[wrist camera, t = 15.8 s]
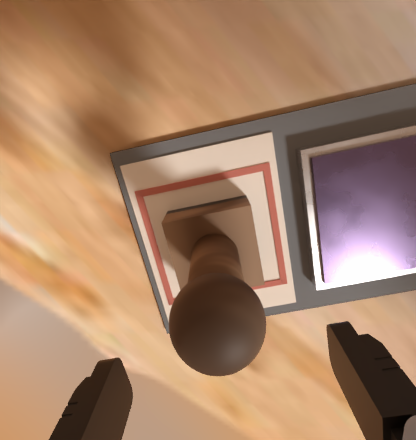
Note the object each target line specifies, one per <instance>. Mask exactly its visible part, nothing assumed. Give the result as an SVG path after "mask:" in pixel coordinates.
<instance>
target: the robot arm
mask: <svg viewBox="0 0 416 440" xmlns="http://www.w3.org/2000/svg"><path fill="white" fill-rule="evenodd" d="M327 337H328V347H329V356H330V362H331V365H332V369H333V371H334V374H335V376H336V378H337V381H338V383H339V385H340V387H341V389H342V391H343V393H344V395H345V397H346V399H347V401H348V403H349V405H350V408H351V410H352V412H353V414H354V416H355V418H356V420H357V422H358V424H359V426H360V428H361V430H362V432H363V435H364V437H365V439H366V440H416V387H415V386H414V384H413V383H412V382H411V380H410V379H409V378H408V377H407V375H406V374H405V373H404V371H403V370H402V369H400V366H399V365H398V363H397V362H396V361H395V360H394V359H393V358H392V356H391V354H390V353H389V352H388V350H387V349H386V348H385V346H384V345H383V344H382V343H381V342H379V341H378V340H376V339H375V338H373V337H372V336H371V335H369V334H364V335H358V334H357V333H356V331H355V330H354V328H353V327H352V325H351V324H350V323H349V322H348V321H346V322H340V323H334V324H328V325H327ZM132 399H133V392H132V387H131V384H130V381H129V379H128V376H127V373H126V371H125V368H124V366H123V363H122V361H121V359H120V358H113V359H107V360H101V361H99V362H98V363H97V365H96V366H95V369H94V371H93V373H92V375H91V377H86V378H85V379H84V380H83V381H82V382H81V384H80V385H79V386H78V387H77V388H76V390H75V391H74V393H73V394H72V397H71V398H70V400H69V402H68V406H66V408H65V410H64V412H63V414H62V418H60V419H59V421H58V423H57V425H56V427H55V429H54V431H53V433H52V435H51V437H50V439H49V440H121V439H122V436H123V433H124V429H125V426H126V422H127V418H128V415H129V412H130V409H131V405H132Z"/></svg>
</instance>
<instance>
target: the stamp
mask: <svg viewBox="0 0 416 440" xmlns="http://www.w3.org/2000/svg"><path fill="white" fill-rule="evenodd" d="M161 224H162V227H163V231H164V234H165V238H166V241H167V245H168V248H169V252H170V256H171V259H172V263H173V266H174V270H175V273H176V277H177V280H178V284H179V287H180V292H179V293H178V295H177V296H176V298H175V300H174V302H173V304H172V307H171V310H170V315H169V333H170V338H171V341H172V344H173V346H174V348H175V350H176V352H177V353H178V355H179V356H180V358H181V359H182V360H183V361H184V362H185V363H186V364H187V365H188V366H190V367H191V368H193V369H194V370H196V371H198V372H200V373H203V374H206V375H210V376H226V375H230V374H233V373H236V372H238V371H240V370H242V369H243V368H245V367H246V366H247V365H249V364H250V363H251V362H252V361H253V359H254V358H255V357H256V356H257V354H258V353H259V351H260V349H261V347H262V344H263V342H264V338H265V333H266V317H265V312H264V308H263V306H262V303H261V301H260V299H259V297H258V296H257V294H256V293H255V291H254V290H253V289H252V288H251V287H255V286H261V285H265V283H264V277H263V271H262V266H261V260H260V254H259V248H258V243H257V237H256V231H255V226H254V220H253V214H252V208H251V204H250V202H249V200H248V198H247V196H246V195H243V196H239V197H234V198H229V199H224V200H219V201H214V202H209V203H205V204H200V205H195V206H190V207H185V208H180V209H176V210H171V211H167V213H166V215H165V217H164V219H163V221H162V223H161Z"/></svg>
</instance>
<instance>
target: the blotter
mask: <svg viewBox="0 0 416 440" xmlns="http://www.w3.org/2000/svg"><path fill="white" fill-rule="evenodd" d="M412 123H416V84H412V85H407V86H403V87H399V88H394V89H390V90H385V91H381V92H377V93H372V94H368V95H364V96H359V97H355V98H350V99H346V100H342V101H337V102H333V103H328V104H324V105H320V106H315V107H311V108H307V109H302V110H298V111H293V112H289V113H285V114H280V115H276V116H271V117H267V118H263V119H258V120H254V121H250V122H245V123H241V124H236V125H232V126H228V127H223V128H219V129H214V130H210V131H206V132H201V133H197V134H193V135H188V136H184V137H179V138H175V139H171V140H166V141H162V142H157V143H153V144H149V145H144V146H140V147H136V148H131V149H127V150H122V151H118V152H114V153H110V156H111V159H112V162H113V165H114V168H115V172H116V175H117V178H118V181H119V184H120V187H121V190H122V193H123V197H124V200H125V203H126V206H127V209H128V212H129V215H130V219H131V222H132V225H133V228H134V231H135V234H136V237H137V240H138V244H139V247H140V250H141V253H142V256H143V259H144V262H145V266H146V269H147V272H148V275H149V278H150V281H151V284H152V287H153V291H154V294H155V297H156V300H157V303H158V306H159V309H160V312H161V316H162V319H163V322H164V325H165V328H166V331H167V334H168V333H169V315H170V310H171V307H172V304H173V302H174V300H175V298H176V296H177V295H178V293H179V292H180V287H179V284H178V280H177V277H176V273H175V270H174V266H173V263H172V259H171V256H170V252H169V248H168V245H167V241H166V238H165V234H164V231H163V227H162V224H161V223H162V221H163V219H164V217H165V215H166V213H167V211H171V210H176V209H180V208H185V207H190V206H195V205H200V204H205V203H209V202H214V201H219V200H224V199H229V198H234V197H239V196H243V195H246V196H247V198H248V200H249V202H250V204H251V208H252V214H253V220H254V226H255V231H256V237H257V243H258V248H259V254H260V260H261V266H262V271H263V277H264V283H265V285H261V286H255V287H251V288H252V289H253V290H254V291H255V293H256V294H257V296H258V297H259V299H260V301H261V303H262V306H263V308H264V312H265V316H270V315H276V314H281V313H287V312H293V311H298V310H304V309H310V308H316V307H321V306H327V305H333V304H338V303H344V302H350V301H355V300H361V299H367V298H372V297H378V296H384V295H390V294H395V293H401V292H407V291H412V290H416V273H411V274H405V275H400V276H394V277H389V278H383V279H377V280H372V281H366V282H361V283H355V284H350V285H344V286H339V287H333V288H327V289H322V290H316V289H315V287H314V286H313V284H312V282H311V274H310V265H309V257H308V249H307V240H306V232H305V223H304V215H303V207H302V198H301V190H300V181H299V173H298V165H297V156H296V149H298V148H302V147H307V146H311V145H316V144H321V143H325V142H330V141H334V140H339V139H343V138H348V137H353V136H357V135H362V134H366V133H371V132H376V131H380V130H385V129H389V128H394V127H398V126H403V125H408V124H412Z"/></svg>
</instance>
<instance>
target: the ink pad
mask: <svg viewBox="0 0 416 440" xmlns="http://www.w3.org/2000/svg"><path fill="white" fill-rule="evenodd" d="M296 156H297V165H298V173H299V181H300V190H301V198H302V207H303V215H304V223H305V232H306V240H307V249H308V257H309V265H310V274H311V282H312V284H313V286H314V287H315V289H316V290H322V289H327V288H333V287H339V286H344V285H350V284H355V283H361V282H366V281H372V280H377V279H383V278H389V277H394V276H400V275H405V274H411V273H416V123H412V124H408V125H403V126H398V127H394V128H389V129H385V130H380V131H376V132H371V133H366V134H362V135H357V136H353V137H348V138H343V139H339V140H334V141H330V142H325V143H321V144H316V145H311V146H307V147H302V148H298V149H296Z"/></svg>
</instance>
